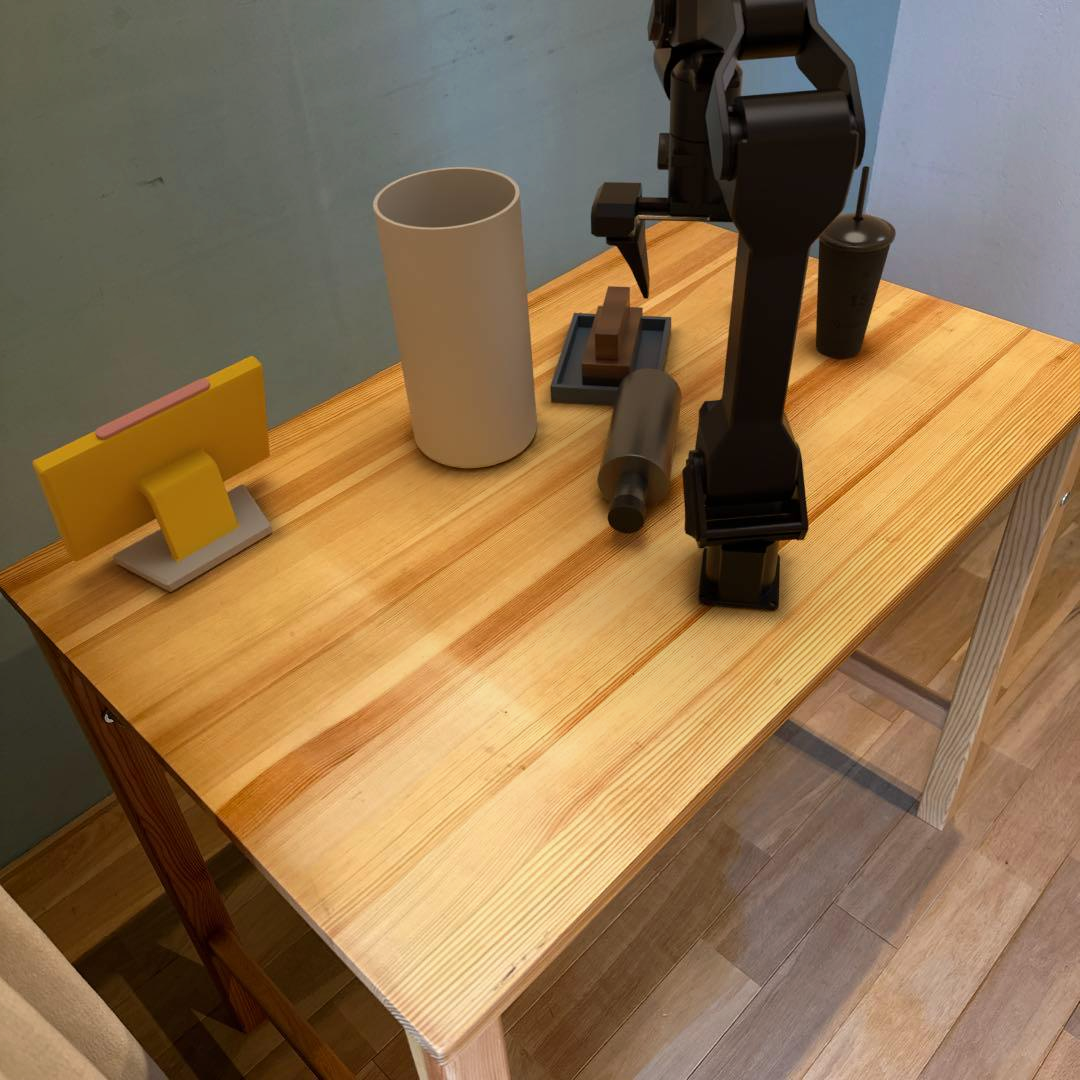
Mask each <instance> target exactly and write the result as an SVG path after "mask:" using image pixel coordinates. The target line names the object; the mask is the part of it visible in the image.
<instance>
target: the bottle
mask: <svg viewBox="0 0 1080 1080" xmlns="http://www.w3.org/2000/svg"><path fill="white" fill-rule="evenodd" d="M682 399H683V395H682V390H681V387H680V385H679V383H678V382H677V381H676V380H675V378H674V377H673V376H672V375H670V374H668V373H667V372H665V371H664V372H663V371H660V370H657V369H640V370H636V371H633V372H632V373H630V374H628V375H627V376H626V377H625V378H624V379H623V380H622V381H621V383H620V385H619V387H618V392H617V396H616V400H615V405H614V406H613V409H612V412H611V418H610V422H609V426H608V431H607V435H606V439H605V444H604V447H603V452H602V456H601V461H600V465H599V468H598V469H599V470H598V473H597V481H596V482H597V486H598V489H599V491H600V493H601V495H602V497H604V498H605V499H606V500H607V502H609V507H608V512H607V517H606V520H607V523H608V525H609V526H610V528H612V529H613V530H614V531H616V532H618V533H619V534H626V535H629V534H635V533H637V532H639V531H640V530H641V529H642V528H643V527H644V524H645V520H646V513H647V510H649V509H651V508H654V507H655V506H657V505H659V504H660V503H661V502H662V501H663V500H664V499H665V497H666V496H667V495H668V491H669V485H670V480H671V474H672V473H671V472H672V467H673V459H674V454H675V453H674V452H675V445H676V440H677V439H676V438H677V434H678V433H677V432H678V425H679V419H680V412H681V406H682Z"/></svg>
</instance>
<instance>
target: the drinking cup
mask: <svg viewBox="0 0 1080 1080" xmlns="http://www.w3.org/2000/svg"><path fill="white" fill-rule="evenodd" d="M861 169H862V170H861V174H860V175H861V176H860V182H859V188H858V194H857V201H856V208H855V212H849V213H843V214H839V216H838V217H837V218H836V219H835V220H834V221H833V222H832V223H831V224H830V225H829V227H828V228H827V229H826V230H825V231H824V232H823V233H822V234H821V235H820V237H819V238H818V262H817V263H818V264H817V265H818V267H817V294H816V295H817V296H816V320H815V321H816V323H815V324H816V326H815V349H816V350H817V352H818V353H819V354H821V355H822V356H825V357H827V358H831V359H836V360H844V359H845V360H846V359H850V358H853V357H856V356H857V355H858V354H860V352H861V350H862V347H863V343H864V340H865V336H866V333H867V329H868V325H869V321H870V318H871V315H872V311H873V308H874V304H875V300H876V297H877V294H878V290H879V287H880V282H881V280H882V276H883V272H884V269H885V266H886V261H887V258H888V255H889V251H890V247H891V244H892V243H893V242H894V241H895V238H896V234H897V231H896V228H895V227H894V225H893V224H892V223H890V222H889V221H887V220H885V219H884V218H882V217H881V218H880V217H878V216H874V215H872V214H869V213H863V212H864V207H865V200H866V195H867V189H868V182H869V175H870V171H871V170H870V169H871V167H870V166H869V165H868V166H867V165H865V166H864V165H863V167H862V168H861Z"/></svg>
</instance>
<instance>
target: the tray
mask: <svg viewBox="0 0 1080 1080" xmlns="http://www.w3.org/2000/svg"><path fill="white" fill-rule="evenodd" d="M595 315H596V313H587V312H573V314H572V318H571V320H570V323H569V327H568V330H567V333H566V335H565V339H564V342H563V345H562V348H561V352H560V355H559V358H558V361H557V365H556V367H555V371H554V374H553V376H552V380H551V383H550V386H549V390H550V391H549V392H550V402H551V403H558V404H560V403H561V404H573V405H574V404H577V405H578V404H579V405H592V406H593V405H594V406H610V407H611V406H612V407H614V405H615V400H616V396H617V392H618V387H607V386H588V385H582V360H583V357H584V353H585V350H586V346H587V343H588V339H589V336H590V333H591V329H592V326H593V322H594V319H595ZM672 318H673V317H672V316H660V315H658V316H657V315H656V316H655V315H643V319H642V320H643V329H642V339H641V344H640V348H639V353H638V358H637V362H636V367H635V371H636V370H640V369H657V370H660V371H663V372H665V368H666V363H667V357H668V351H669V346H670V340H671V335H672Z"/></svg>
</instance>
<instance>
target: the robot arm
mask: <svg viewBox="0 0 1080 1080" xmlns="http://www.w3.org/2000/svg"><path fill="white" fill-rule="evenodd" d="M816 6H817V5H816V2H815V0H652V1H651V6H650V12H649V17H648V20H647V26H646V29H647V40H648V42H650V41H651V43H652V45H653V47H654V49H655V50H654V51H653V56H652V57H653V58H652V61H653V68H654V71H655V72H656V75H657V77H658V80H659V82H660V84H661V87H662V88H663V91H664V94H665V96H666V98H667V99H668V101H669V132H659V135H658V144H657V161H656V168H657V170H659V171H667V172H668V173H667V197H661V196H660V197H657V196H655V197H654V196H643V185H642V182H624V181H623V182H621V181H619V182H618V181H614V182H613V181H604V182H603V183H602V184H601V185H600V186H599V188H598V189H597V191H596V194H595V197H594V199H593V201H592V205H591V208H590V234H591V235H592V236H593V237H596V238H605V243H606V245H608V246H612V247H613V246H614V247H616V248H617V249H618V251H619V253H620V254H621V256H622V258H623V259H624V260H625V262H626V264H627V265H628V267H629V269H630V271H631V273H632V275H633V277H634V280H635V282H636V284H637V286H638V288H639V291H640V294H641V296H642V297H643V299H645V300H648V299H649V296H650V284H651V283H650V282H651V279H650V277H651V276H650V268H649V258H648V249H647V248H648V247H647V238H646V237H647V236H646V221H660V222H661V221H662V222H666V221H667V222H699V223H733V225H734V226H735V228H736V230H737V231H738V234H737V235H738V236H737V237H738V238H737V245H736V246H737V247H736V257H735V267H734V276H733V287H732V297H731V305H730V314H729V315H730V317H729V325H728V333H727V334H728V336H727V343H726V344H727V345H726V355H725V366H724V374H723V384H722V394H721V398H720V399H713V400H712V399H711V400H704V401H703V402H702V404H701V406H700V408H699V409H698V423H697V431H696V437H695V446H694V447H695V448H694V449H691V450H689V451H688V454H687V455H688V456H687V458H686V460H685V466H684V467H683V468H682V470H681V475H682V489H683V490H682V491H683V503H684V526H683V527H684V533H685V534H686V535H688V536H690V537H692V539H694V540H695V542H696V545H697V548H698V550H700V549H703V550H702V557H701V558H702V559H701V565H700V566H701V567H700V577H699V586H698V596H697V598H698V599H697V600H698V603H699V604H701V605H707V606H718V607H729V608H738V609H739V608H740V609H750V610H761V611H777V610H779V607H780V581H781V580H780V579H781V578H780V577H781V556H780V555H779V550H780V544H781V543H780V542H784V541H793V540H794V541H795V540H796V541H798V542H799V541H805V539H806V536H807V534H808V531H809V516H808V506H807V505H808V504H807V496H806V487H805V485H806V484H805V477H804V467H803V465H804V464H803V458H802V452H801V448H800V445H799V443H798V442H797V441H796V439H795V435H794V433H793V430H792V427H791V424H790V422H789V418H788V415H787V413H786V412H785V407H786V402H787V395H788V388H789V381H790V376H791V370H792V364H793V358H794V352H795V345H796V339H797V334H798V326H799V322H800V314H801V309H802V303H803V296H804V290H805V285H806V277H807V271H808V265H809V258H810V254H811V249H812V246H813V244H815V243H816V241H817V240H819V237H820V235H821V234H822V233H823V232H824V231H825V230H826V229H827V228H828V227H829V225H830V224H831V223H832V222H833V221H834V220H835V219H836V218H837V217H838V216H839V215H841V213H842V212H843V211H844V209H845V207H846V203H847V200H848V196H849V193H850V189H851V184H852V181H853V177H854V172H855V170H858V169H859V167H861V165H862V162H863V159H864V154H865V149H866V136H867V135H866V134H867V129H866V128H867V127H866V119H865V114H864V109H863V102H862V96H861V91H860V86H859V85H860V84H859V80H858V75H857V69H856V64H855V63H854V61H853V59H852V58H850V56H849V54H847V53H846V52H845V50H844V49H843V48H842V47H841V46H840V44H838V42H836V40H835V39H834V38H833V37H832V36H831V35H830V34H829V32H828V31H827V30H825V28H824V27H823V26H822V25H821V24H820V23H819V19H818V13H817V7H816ZM791 57H794V60H795V64H796V66H797V68H798V70H799V71H800V72H801V73H802V75H803V76H805V78H806V79H807V80H808V81H809V82H810V83H811V85H812V86H813V87H814V88H815V89H811V90H799V91H798V90H797V91H787V92H786V91H785V92H775V93H774V92H773V93H762V94H761V93H760V94H749V95H748V94H747V95H742V91H743V89H742V88H743V73H744V70H743V68H742V67H741V66H740V64H739V63H738V62H743V61H755V60H756V61H757V60H767V59H768V60H769V59H779V58H791Z"/></svg>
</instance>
